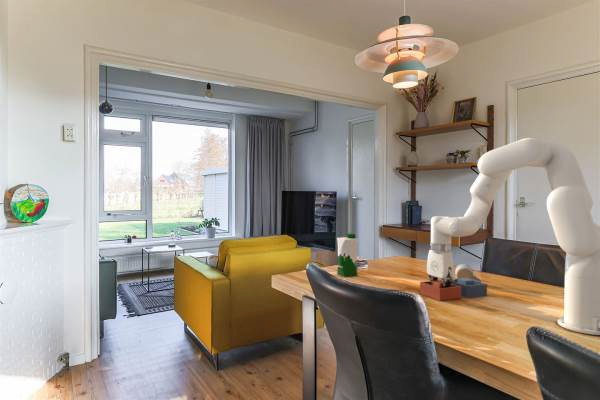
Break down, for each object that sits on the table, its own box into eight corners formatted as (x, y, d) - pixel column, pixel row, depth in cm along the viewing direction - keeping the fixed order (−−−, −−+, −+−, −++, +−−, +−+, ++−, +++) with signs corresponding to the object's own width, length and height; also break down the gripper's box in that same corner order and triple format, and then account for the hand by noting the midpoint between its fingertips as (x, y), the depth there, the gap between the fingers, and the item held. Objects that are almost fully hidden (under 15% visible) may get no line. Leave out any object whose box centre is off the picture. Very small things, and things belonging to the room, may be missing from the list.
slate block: (474, 292, 145) (474, 280, 145) (465, 293, 144) (465, 280, 144) (465, 289, 149) (465, 277, 149) (457, 290, 148) (457, 278, 148)
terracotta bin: (461, 298, 138) (461, 286, 138) (439, 300, 135) (440, 288, 135) (440, 291, 149) (440, 280, 149) (419, 293, 145) (420, 281, 145)
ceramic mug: (455, 283, 163) (456, 266, 162) (454, 279, 170) (455, 263, 170) (481, 286, 159) (482, 268, 159) (480, 282, 166) (480, 265, 166)
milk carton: (359, 275, 176) (360, 234, 176) (343, 277, 172) (344, 235, 172) (349, 272, 184) (350, 232, 184) (334, 273, 180) (334, 233, 180)
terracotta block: (448, 295, 141) (448, 282, 141) (439, 296, 139) (439, 283, 139) (440, 292, 145) (440, 280, 145) (431, 293, 143) (431, 280, 143)
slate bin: (487, 295, 143) (487, 284, 143) (466, 297, 139) (467, 286, 139) (464, 288, 153) (465, 278, 153) (445, 290, 150) (445, 279, 150)
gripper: (418, 245, 148) (417, 289, 149) (449, 251, 132) (448, 301, 133) (433, 244, 151) (432, 288, 151) (465, 250, 135) (464, 299, 135)
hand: (439, 293), depth 142 cm, fingers open, 4 cm apart
